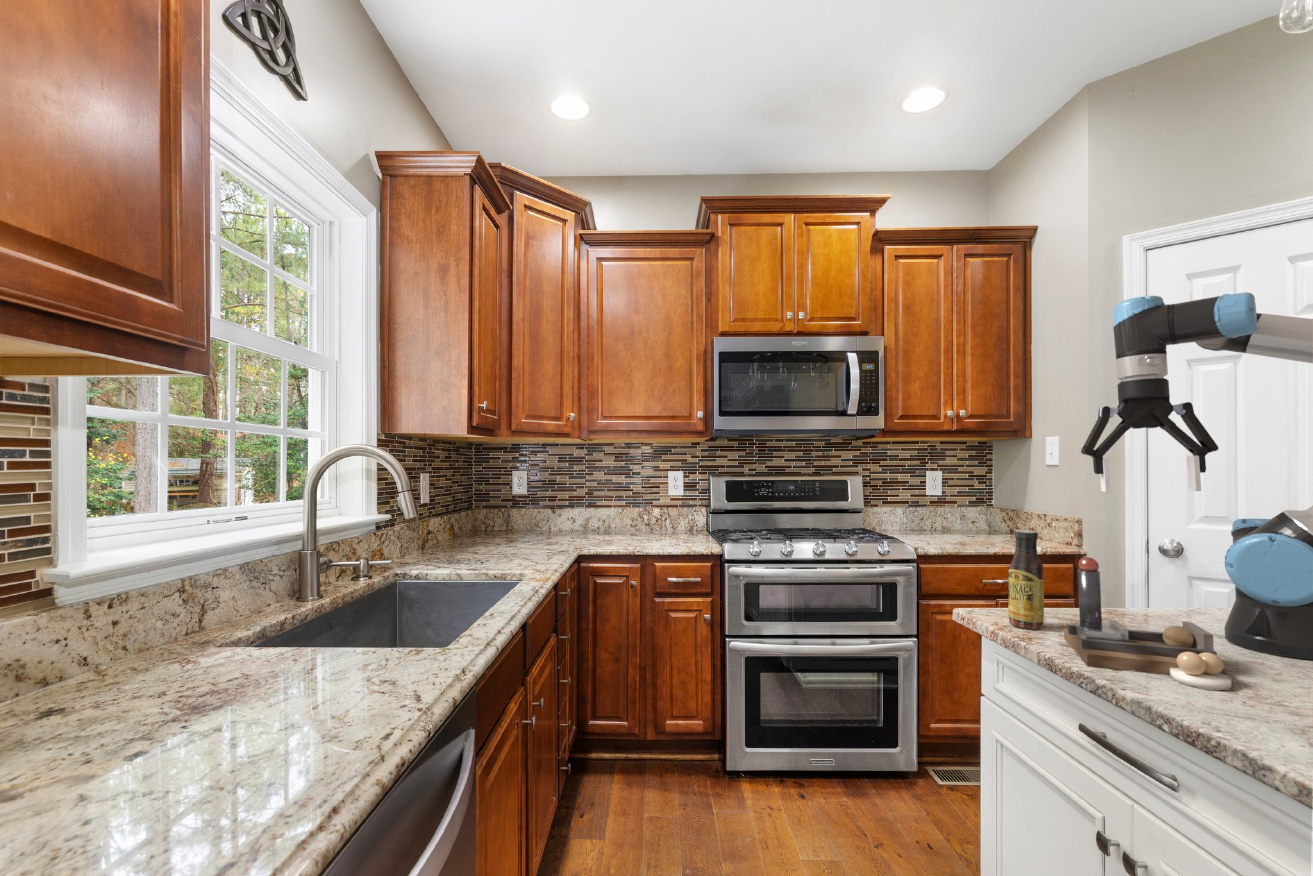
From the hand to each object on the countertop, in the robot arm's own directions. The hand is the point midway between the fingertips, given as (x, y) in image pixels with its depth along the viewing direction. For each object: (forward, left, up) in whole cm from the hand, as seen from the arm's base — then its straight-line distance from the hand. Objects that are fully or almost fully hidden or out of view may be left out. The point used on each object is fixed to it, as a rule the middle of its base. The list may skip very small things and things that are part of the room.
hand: (1149, 491), depth 110 cm
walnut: (0, +10, -27) cm, 28 cm away
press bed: (+6, +10, -29) cm, 31 cm away
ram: (+11, +10, -26) cm, 30 cm away
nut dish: (+1, +20, -29) cm, 35 cm away
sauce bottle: (+20, -5, -29) cm, 35 cm away
